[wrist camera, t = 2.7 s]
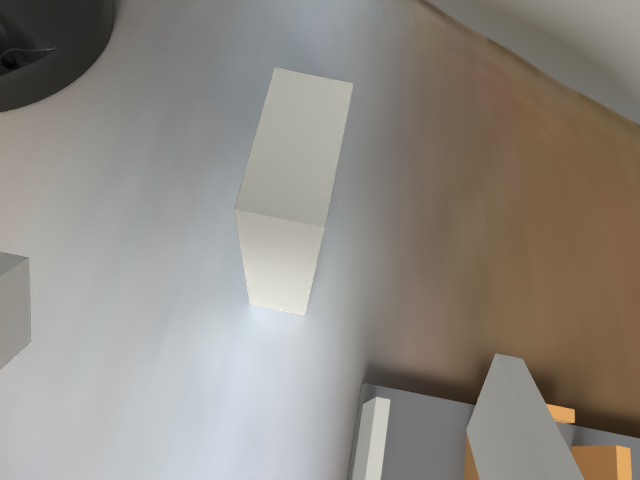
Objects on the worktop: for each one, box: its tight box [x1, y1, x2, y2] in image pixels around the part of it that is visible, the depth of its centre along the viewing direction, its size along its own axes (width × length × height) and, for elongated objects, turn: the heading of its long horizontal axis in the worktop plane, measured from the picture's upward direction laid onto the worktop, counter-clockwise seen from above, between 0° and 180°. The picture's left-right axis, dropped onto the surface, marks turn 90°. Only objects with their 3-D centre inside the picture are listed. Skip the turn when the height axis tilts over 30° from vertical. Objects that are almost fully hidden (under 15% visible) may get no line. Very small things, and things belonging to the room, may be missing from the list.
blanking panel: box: [234, 67, 354, 316], centre depth 23 cm, size 6×3×12 cm, turn 170°
